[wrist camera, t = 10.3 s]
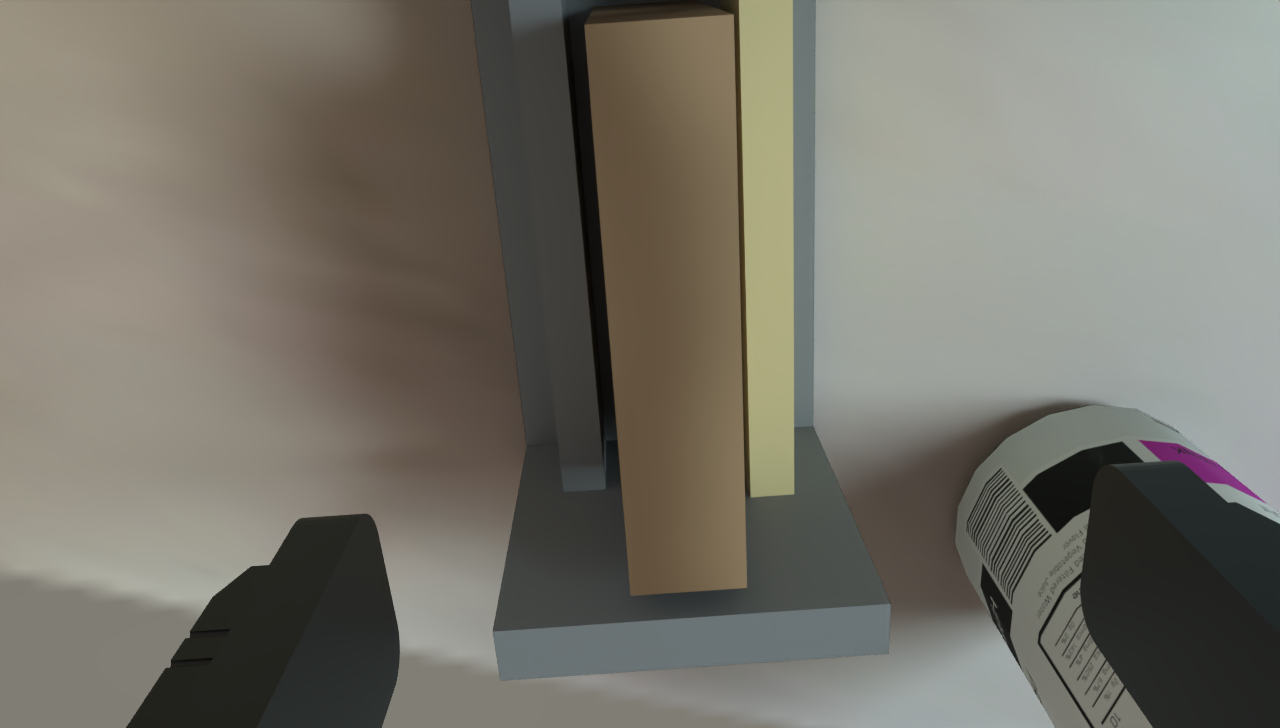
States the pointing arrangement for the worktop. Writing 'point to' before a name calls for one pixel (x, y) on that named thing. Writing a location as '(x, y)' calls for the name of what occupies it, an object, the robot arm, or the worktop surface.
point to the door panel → (672, 286)
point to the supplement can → (1063, 547)
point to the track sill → (583, 385)
